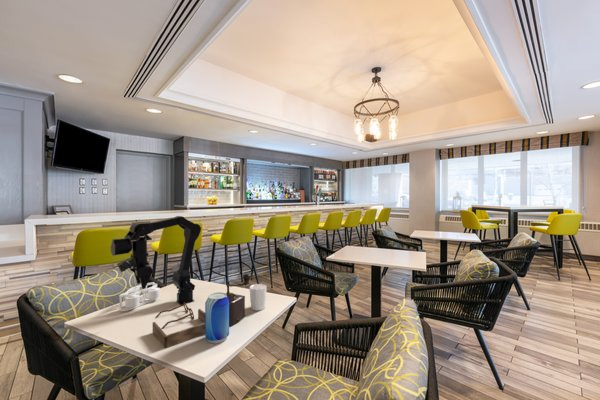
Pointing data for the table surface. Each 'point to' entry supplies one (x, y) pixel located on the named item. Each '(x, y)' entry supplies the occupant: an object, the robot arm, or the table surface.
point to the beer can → (217, 317)
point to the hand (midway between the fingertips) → (141, 286)
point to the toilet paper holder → (133, 299)
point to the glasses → (179, 318)
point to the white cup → (258, 296)
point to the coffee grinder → (236, 302)
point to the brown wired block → (180, 333)
